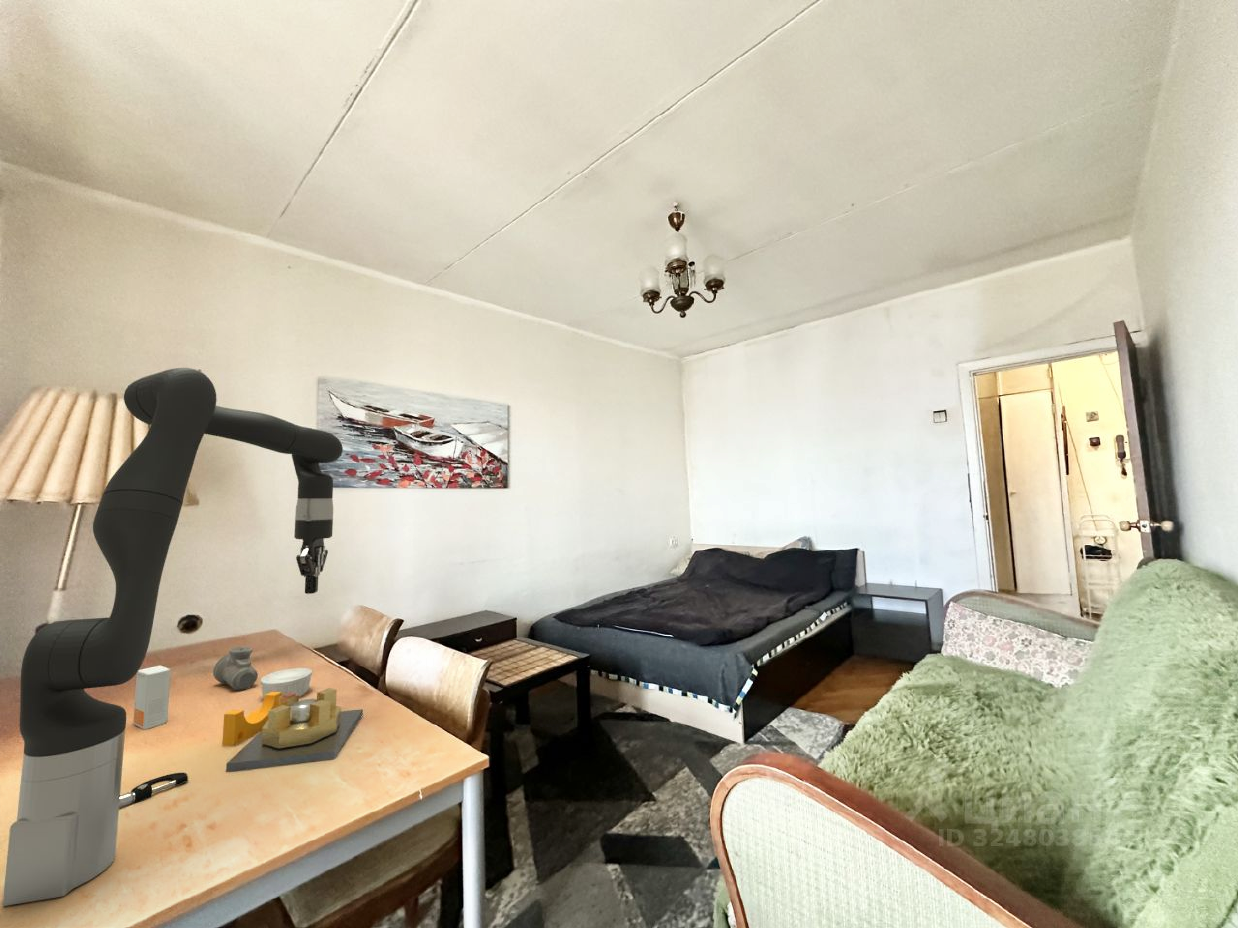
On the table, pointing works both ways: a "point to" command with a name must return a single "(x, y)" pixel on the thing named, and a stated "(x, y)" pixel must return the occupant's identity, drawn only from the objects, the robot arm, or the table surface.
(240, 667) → the pipe fitting
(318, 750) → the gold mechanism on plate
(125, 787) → the table surface
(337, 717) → the ring nut
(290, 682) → the ramekin
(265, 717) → the pipe clamp
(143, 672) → the skincare box
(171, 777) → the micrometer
